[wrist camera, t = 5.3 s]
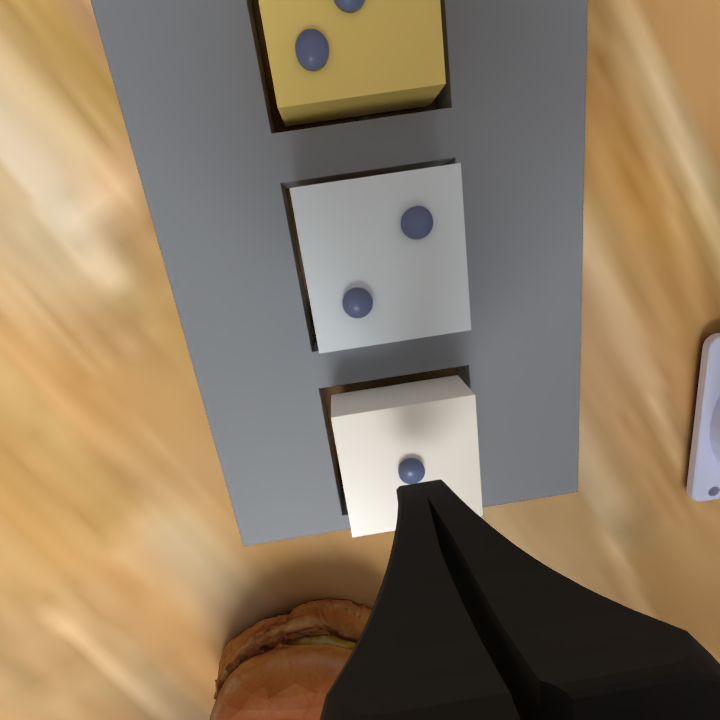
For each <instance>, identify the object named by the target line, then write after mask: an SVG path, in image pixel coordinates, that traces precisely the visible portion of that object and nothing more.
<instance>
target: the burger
mask: <svg viewBox="0 0 720 720" xmlns="http://www.w3.org/2000/svg"><path fill="white" fill-rule="evenodd" d="M371 611H372V609H371V608H369V607H367V606H366V605H364V604H362V605H358V606H357V605H356V604H353V603H352V602H351V601H350V600H335V599H323V600H318V601H309V602H308V603H306V604H301V605H299V606H297V607H296V608H294V609H293V610H292V611H291V613H290V614H289V615H288V614H286V615H282V616H280V615H278V616H277V617H272V618H267V619H264V620H261V621H259V622H257V623H255V624H254V626H253V627H249V628H247V629H246V630H245V631H243V632H242V634H240V635H239V636H238V637H234V638H233V639H232V640H231V641H230V642H229V643H228V644H227V646H226V647H225V649H224V651H223V654H222V657H221V660H220V663H219V664H220V665H219V671H218V678H217V680H215V682H216V692H215V695H214V699H216V702H215V704H214V707H213V710H212V713H211V716H210V720H320V716H321V712H322V709H323V705H324V701H325V697H326V694H327V693H328V691H329V689H330V688H331V686H332V684H333V683H334V681H335V680H336V678H337V676H338V675H339V673H340V671H341V670H342V668H343V666H344V665H345V663H346V661H347V660H348V658H349V656H350V654H351V652H352V651H353V649H354V647H355V645H356V643H357V641H358V639H359V637H360V635H361V633H362V631H363V629H364V627H365V625H366V623H367V620H368V618H369V616H370V613H371Z"/></svg>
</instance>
